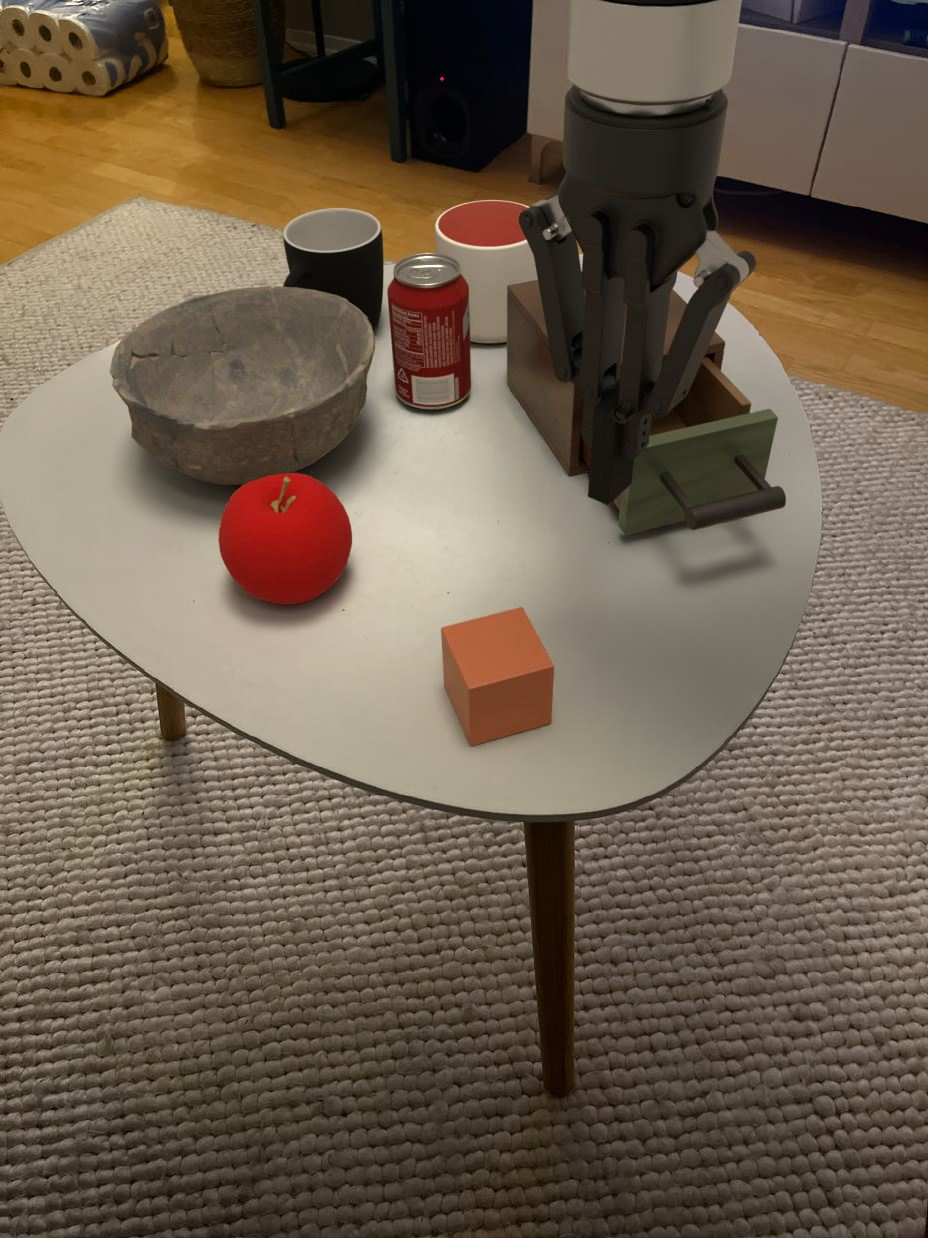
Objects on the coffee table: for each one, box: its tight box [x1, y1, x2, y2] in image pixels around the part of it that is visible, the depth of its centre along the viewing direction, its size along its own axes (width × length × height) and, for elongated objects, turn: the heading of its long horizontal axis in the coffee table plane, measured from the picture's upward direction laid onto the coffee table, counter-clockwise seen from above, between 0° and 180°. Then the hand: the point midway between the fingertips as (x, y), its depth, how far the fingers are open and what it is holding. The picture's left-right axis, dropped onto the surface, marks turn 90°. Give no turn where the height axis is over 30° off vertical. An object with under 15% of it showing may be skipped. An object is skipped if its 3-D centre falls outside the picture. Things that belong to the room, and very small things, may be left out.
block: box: [440, 606, 555, 747], centre depth 68 cm, size 6×6×6 cm
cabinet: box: [506, 270, 726, 477], centre depth 89 cm, size 15×13×10 cm
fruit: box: [218, 472, 353, 605], centre depth 75 cm, size 9×9×10 cm
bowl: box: [109, 285, 376, 486], centre depth 86 cm, size 21×21×10 cm
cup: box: [434, 199, 538, 344], centre depth 100 cm, size 10×10×10 cm
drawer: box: [579, 355, 787, 536], centre depth 81 cm, size 19×11×8 cm, turn 19°
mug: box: [282, 207, 385, 333], centre depth 99 cm, size 12×9×10 cm
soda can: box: [386, 252, 472, 411], centre depth 91 cm, size 7×7×12 cm
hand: (609, 489), depth 66 cm, fingers closed
